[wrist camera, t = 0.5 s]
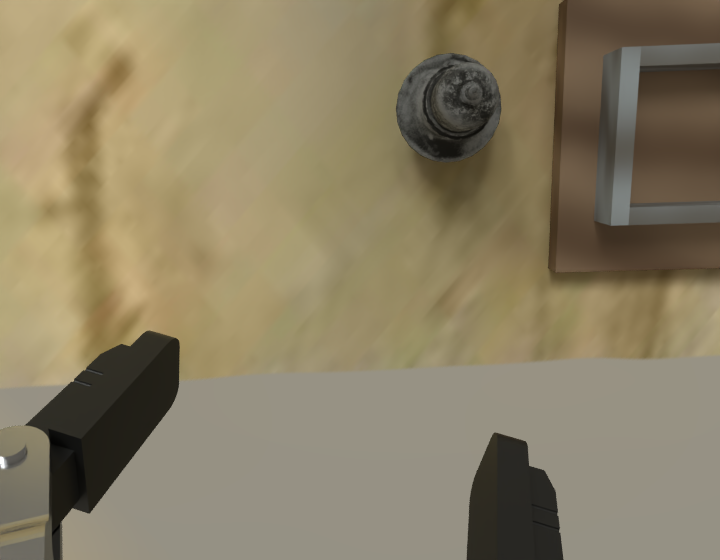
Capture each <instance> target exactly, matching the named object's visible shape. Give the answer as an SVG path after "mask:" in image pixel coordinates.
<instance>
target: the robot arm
mask: <svg viewBox="0 0 720 560" xmlns="http://www.w3.org/2000/svg"><path fill="white" fill-rule="evenodd" d="M179 349H180V346H179V340H178V339H177V338H174V337H170V336H167V335H163V334H160V333H156V332H153V331H146V332H145V333H143V334H142V335H141V336H140V337H139V338H138V339H137V340H136V341H135V342H134V343H133V344H132V345H131V346H126V345H123V344H121V345H118V346H116V347H114V348H112V349H110V350H108V351H106V352H104V353H102V354H100V355H99V356H98V357H97V358H96V359H95V360H94V361H93V362H92V363H91V364H90V365H89V366H88V367H87V368H86V370H85V371H84V370H83V371H82V372H81V373H80V374H79V375H78V376H77V377H76V378H75V379H74V382H71V383H70V384H68V385H67V386H66V387H65V388H64V389H63V390H62V391H61V392H60V393H59V394H58V395H57V396H56V397H55V398H54V399H53V400H51V401H50V402H49V403H48V404H47V405H46V406H45V407H44V408H43V409H42V410H41V411H40V412H39V413H38V414H37V415H36V416H35V417H33V418H32V419H31V420H30V421H29V422H28V423H27V424H26V425H25V426H12V427H7V428H3V429H1V430H0V560H62V522H61V521H62V520H63V519H64V518H65V516H66V515H67V514H68V513H69V512H70V510H71V509H72V508H74V509H77V510H80V511H83V512H86V513H90V512H91V511H92V510H93V508H94V507H95V506H96V504H97V503H98V502H99V501H100V499H101V498H102V497H103V495H104V494H105V493H106V491H107V490H108V489H109V487H110V486H111V485H112V483H113V482H114V480H116V478H117V477H118V476H119V474H120V473H121V472H122V470H123V469H124V468H125V467H126V465H127V464H128V463H129V461H130V460H131V459H132V457H133V456H134V455H135V453H136V452H137V451H138V450H139V448H140V447H141V446H142V444H143V443H144V442H145V440H146V439H147V437H148V436H149V435H150V434H151V433H152V431H153V430H154V429H155V427H156V426H157V425H158V423H159V422H160V421H161V420H162V418H163V417H164V416H165V414H166V413H167V411H168V410H169V409H170V408H171V406H172V404H173V402H174V400H175V397H176V395H177V392H178V387H179ZM557 512H558V509H557V501H556V492H555V490H554V488H553V486H552V484H551V482H550V480H549V478H548V476H547V474H546V473H545V471H544V470H541V469H538V468H534V467H531V466H529V461H528V446H527V443H526V441H523V440H519V439H516V438H512V437H509V436H505V435H502V434H499V433H494V434H493V435H492V437H491V439H490V442H489V445H488V447H487V449H486V451H485V454H484V456H483V458H482V461H481V463H480V466H479V468H478V470H477V473H476V475H475V478H474V481H473V485H472V489H471V495H470V505H469V524H468V544H467V560H563V553H562V544H561V536H560V533H559V529H560V527H559V518H558V516H557Z"/></svg>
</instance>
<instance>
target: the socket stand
mask: <svg viewBox="0 0 720 560" xmlns="http://www.w3.org/2000/svg"><path fill="white" fill-rule="evenodd" d="M548 268H549V269H551V270H553V271H554V272H592V271H629V270H666V269H703V268H720V0H564V1H563V2H562V3H560V4H559V21H558V46H557V70H556V95H555V119H554V144H553V169H552V193H551V218H550V242H549V267H548Z"/></svg>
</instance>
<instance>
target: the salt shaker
mask: <svg viewBox="0 0 720 560" xmlns="http://www.w3.org/2000/svg"><path fill="white" fill-rule="evenodd" d="M396 113H397V123H398V125H399V128H400V131H401V133H402V136H403V137H404V139H405V140H406V141H407V143H408V144H409V146H410V147H411V148H412V149H414V150H415V151H416V152H417V153H419V154H420V155H421V156H424V157H426V158H428V159H430V160H433V161H439V162H454V161H460V160H463V159H465V158H468V157H471V156H473V155H474V154H475V153H477V152H478V151H479V150H481V149H482V148H483V147H484V146H485V145H486V144H487V143H488V141H489V140H490V139H491V138H492V136H493V134H494V132H495V130H496V128H497V126H498V124H499V119H500V113H501V97H500V93H499V88H498V85H497V82H496V79H495V78H494V76H493V75H492V73H491V72H490V71H489V70H488V69H486V68H485V67H484V66H483V65H482V64H480V63H479V62H478V61H476V60H474V59H472V58H470V57H468V56H466V55H460V54H454V53H449V54H441V55H436V56H434V57H431V58H429V59H426V60H424V61H423V62H422V63H420V64H419V65H418V66H416V67H415V68H414V69H413V70H412V71H411V72H410V74H409V75H408V76H407V78H406V79H405V80H404V82H403V84H402V87H401V89H400V91H399V94H398V99H397V106H396Z"/></svg>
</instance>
